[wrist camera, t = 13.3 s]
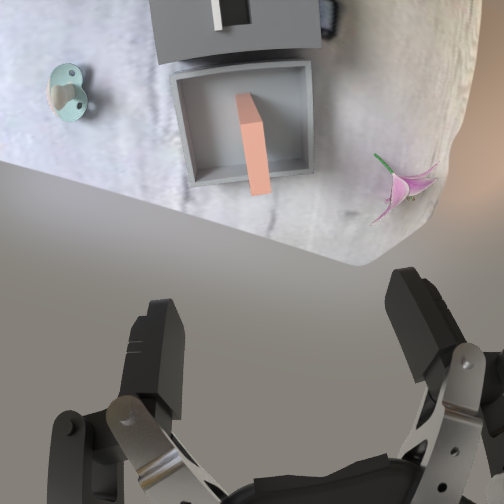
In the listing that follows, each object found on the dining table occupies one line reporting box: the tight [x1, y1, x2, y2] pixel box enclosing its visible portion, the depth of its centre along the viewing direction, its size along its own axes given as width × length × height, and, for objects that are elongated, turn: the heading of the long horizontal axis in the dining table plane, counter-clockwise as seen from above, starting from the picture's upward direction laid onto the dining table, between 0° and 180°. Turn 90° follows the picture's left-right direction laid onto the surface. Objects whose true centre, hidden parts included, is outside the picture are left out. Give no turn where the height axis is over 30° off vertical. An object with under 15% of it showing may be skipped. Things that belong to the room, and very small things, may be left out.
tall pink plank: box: [235, 93, 271, 196], centre depth 28 cm, size 2×6×13 cm, turn 8°
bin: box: [169, 58, 314, 188], centre depth 31 cm, size 14×13×4 cm
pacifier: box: [47, 63, 88, 122], centre depth 26 cm, size 7×6×6 cm
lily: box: [369, 154, 440, 226], centre depth 36 cm, size 12×12×10 cm
